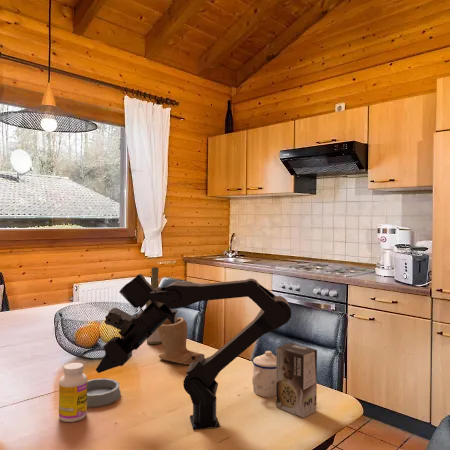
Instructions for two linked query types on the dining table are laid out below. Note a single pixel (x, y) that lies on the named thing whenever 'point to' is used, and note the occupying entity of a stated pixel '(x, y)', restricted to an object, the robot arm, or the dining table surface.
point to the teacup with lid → (264, 375)
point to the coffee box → (296, 379)
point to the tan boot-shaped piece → (176, 342)
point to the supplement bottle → (73, 393)
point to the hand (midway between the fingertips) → (104, 364)
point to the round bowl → (102, 392)
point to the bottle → (155, 336)
